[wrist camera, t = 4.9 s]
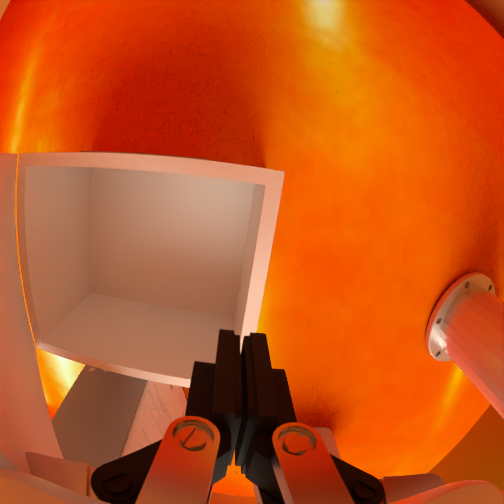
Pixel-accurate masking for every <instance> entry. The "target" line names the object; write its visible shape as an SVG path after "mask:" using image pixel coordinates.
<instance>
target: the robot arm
mask: <svg viewBox="0 0 504 504" xmlns="http://www.w3.org/2000/svg"><path fill="white" fill-rule="evenodd" d="M426 346H427V350H428V351H429V353H430V354H431V355H432V356H433V358H435V359H436V360H438V361H450V360H453V361H454V362H455V363H456V364H457V366H458V367H459V368H460V369H461V370H462V371H463V372H464V373H465V374H466V376H467V377H468V378H469V379H470V380H471V381H472V382H473V383H474V385H475V386H476V387H477V388H478V389H479V390H480V391H481V393H482V394H483V395H484V396H485V397H486V399H487V400H488V401H489V402H490V403H491V405H492V406H493V407H494V408H495V409H496V411H497V412H498V413H499V414H500V415H501V417H502V418H503V419H504V301H503V300H501V299H500V298H498V297H497V296H495V288H494V284H493V282H492V280H491V279H490V278H489V277H488V276H486V275H484V274H482V273H479V272H473V273H469V274H466V275H464V276H463V277H461V278H460V279H458V280H457V281H456V282H455V283H453V284H452V285H451V286H450V287H449V288H448V290H447V291H446V292H445V293H444V294H443V296H442V297H441V299H440V300H439V301H438V303H437V305H436V307H435V309H434V310H433V313H432V315H431V317H430V320H429V323H428V326H427V331H426ZM234 449H235V465H236V466H241V474H246V478H247V479H249V480H250V481H251V482H253V485H254V491H255V495H256V499H257V502H258V504H504V490H503V492H501V491H500V490H499V489H498V488H497V487H496V486H495V485H493V484H492V483H490V482H487V481H481V480H466V481H459V482H454V483H450V484H446V485H445V484H444V482H443V480H442V479H441V478H440V477H439V476H438V475H435V474H431V473H426V474H417V475H406V476H390V477H383V478H382V479H377V478H375V477H374V476H372V475H370V474H368V473H366V472H364V471H362V470H360V469H358V468H356V467H354V466H352V465H350V464H348V463H346V462H344V461H343V460H341V459H339V458H337V457H335V456H333V455H332V454H330V453H329V452H328V450H327V448H326V446H325V444H324V442H323V440H322V438H321V436H320V435H319V433H318V432H317V431H316V430H315V429H313V428H312V427H310V426H308V425H306V424H303V423H298V422H297V421H296V416H295V412H294V408H293V403H292V399H291V395H290V390H289V386H288V382H287V377H286V373H285V370H284V369H272V367H271V361H270V355H269V350H268V344H267V338H266V334H263V333H253V332H250V335H249V336H244V338H243V344H242V350H241V354H240V335H235V334H234V330H225V329H219V336H218V345H217V353H216V362H215V363H207V362H200V361H194V366H193V371H192V377H191V382H190V388H189V394H188V400H187V406H186V412H185V416H183V417H180V418H177V419H176V420H174V421H173V422H171V423H170V425H169V426H168V428H167V430H166V432H165V435H164V437H163V439H161V440H159V441H157V442H155V443H153V444H150V445H148V446H146V447H144V448H142V449H139V450H137V451H135V452H132V453H130V454H128V455H125V456H123V457H121V458H118V459H116V460H113V461H111V462H108V463H105V464H103V465H101V466H99V467H93V466H89V465H88V463H83V462H76V461H71V460H65V459H60V458H55V457H51V456H46V455H42V454H38V453H34V452H25V455H26V459H27V462H28V466H29V469H30V473H31V475H30V474H27V473H24V472H21V471H17V470H13V469H9V468H4V467H0V504H209V501H210V497H211V492H212V488H213V484H215V483H216V482H218V481H219V480H221V479H222V478H224V477H225V475H226V471H227V467H228V465H231V462H232V458H233V454H234Z"/></svg>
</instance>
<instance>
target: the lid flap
mask: <svg viewBox="0 0 504 504" xmlns="http://www.w3.org/2000/svg"><path fill="white" fill-rule="evenodd" d="M16 163H17V154H9V153H0V467H4V468H9V469H13V470H17V471H21V472H24V473H27V474H30V475H31V473H30V469H29V466H28V462H27V459H26V455H25V452H34V453H38V454H42V455H46V456H51V457H55V458H60V459H64V458H63V455H62V453H61V450H60V447H59V444H58V441H57V438H56V435H55V432H54V429H53V426H52V422H51V419H50V416H49V412H48V408H47V404H46V400H45V396H44V392H43V387H42V383H41V378H40V373H39V367H38V361H37V355H36V349H35V345H34V341H33V338H32V334H31V330H30V326H29V322H28V317H27V313H26V308H25V303H24V297H23V292H22V286H21V279H20V272H19V264H18V254H17V243H16V227H15V179H16Z"/></svg>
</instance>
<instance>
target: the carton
mask: <svg viewBox="0 0 504 504" xmlns="http://www.w3.org/2000/svg"><path fill="white" fill-rule="evenodd" d="M284 173H285V172H284V171H278V170H272V169H266V168H260V167H253V166H246V165H239V164H232V163H225V162H217V161H213V160H209V159H203V158H194V157H184V156H173V155H161V154H147V153H129V152H104V151H82V152H53V153H25V154H19V162H18V177H17V229H18V245H19V256H20V265H21V273H22V280H23V287H24V293H25V299H26V304H27V309H28V314H29V318H30V323H31V327H32V331H33V335H34V339H35V343H36V346H37V348H39V349H42V350H44V351H47V352H50V353H53V354H55V355H58V356H61V357H64V358H67V359H70V360H73V361H76V362H79V363H83V364H86V365H89V366H93V367H96V368H100V369H103V370H107V371H111V372H115V373H119V374H123V375H127V376H131V377H136V378H140V379H145V380H149V381H154V382H159V383H165V384H170V385H176V386H182V387H188V388H190V382H191V377H192V371H193V366H194V361H200V362H207V363H215V362H216V353H217V345H218V336H219V329H225V330H234V334H235V335H240V354H241V350H242V344H243V338H244V336H249V335H250V332H253V333H256V330H257V325H258V319H259V314H260V309H261V304H262V298H263V293H264V288H265V282H266V277H267V271H268V266H269V260H270V255H271V249H272V243H273V238H274V232H275V226H276V221H277V215H278V209H279V203H280V197H281V191H282V186H283V180H284Z"/></svg>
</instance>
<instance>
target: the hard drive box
mask: <svg viewBox="0 0 504 504" xmlns="http://www.w3.org/2000/svg"><path fill="white" fill-rule="evenodd" d="M186 406H187V400H186V397H185V394H184V391H183V388H182V386H176V385H170V384H165V383H159V382H154V381H149V380H145V379H140V378H136V377H131V376H127V375H123V374H119V373H115V372H111V371H107V370H103V369H100V368H96V367H93V366H89V365H85V367H84V368H83V370H82V371H81V373H80V374H79V376H78V378H77V379H76V381H75V382H74V384H73V386H72V387H71V389H70V391H69V392H68V394H67V395H66V397H65V399H64V400H63V402H62V404H61V405H60V407H59V409H58V410H57V412H56V414H55V416H54V417H53V419H52V421H51V422H52V426H53V429H54V432H55V435H56V438H57V441H58V444H59V447H60V450H61V453H62V455H63V458H64V459H65V460H71V461H76V462H83V463H88V465H89V466H93V467H99V466H101V465H103V464H105V463H108V462H111V461H113V460H116V459H118V458H121V457H123V456H125V455H128V454H130V453H132V452H135V451H137V450H139V449H142V448H144V447H146V446H148V445H150V444H153V443H155V442H157V441H159V440H161V439H163V437H164V435H165V432H166V430H167V428H168V426H169V425H170V423H171V422H173V421H174V420H176V419H177V418H180V417H183V416H185V412H186Z"/></svg>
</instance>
